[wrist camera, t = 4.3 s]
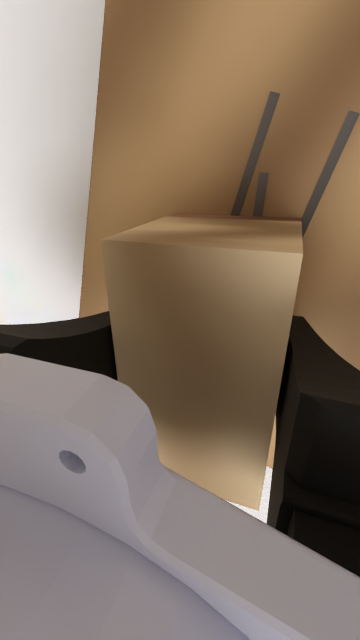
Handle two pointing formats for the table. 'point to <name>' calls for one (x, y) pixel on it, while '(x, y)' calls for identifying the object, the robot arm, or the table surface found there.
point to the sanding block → (206, 338)
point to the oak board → (235, 136)
